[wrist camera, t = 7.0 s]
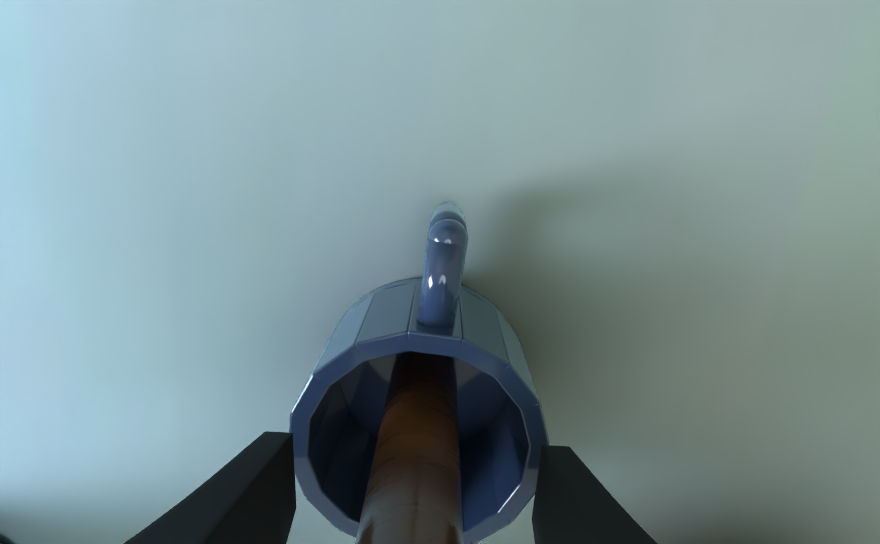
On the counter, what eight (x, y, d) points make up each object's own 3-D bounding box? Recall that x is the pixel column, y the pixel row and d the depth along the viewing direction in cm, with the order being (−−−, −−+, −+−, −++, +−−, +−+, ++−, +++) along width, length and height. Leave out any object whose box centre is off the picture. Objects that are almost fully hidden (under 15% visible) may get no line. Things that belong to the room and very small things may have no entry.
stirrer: (422, 416, 15) (383, 907, 6) (377, 374, 15) (256, 828, 5) (469, 379, 15) (513, 841, 5) (425, 335, 14) (387, 752, 5)
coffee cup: (503, 462, 16) (521, 566, 13) (321, 440, 16) (282, 538, 12) (557, 212, 14) (599, 247, 10) (341, 182, 14) (300, 205, 10)
